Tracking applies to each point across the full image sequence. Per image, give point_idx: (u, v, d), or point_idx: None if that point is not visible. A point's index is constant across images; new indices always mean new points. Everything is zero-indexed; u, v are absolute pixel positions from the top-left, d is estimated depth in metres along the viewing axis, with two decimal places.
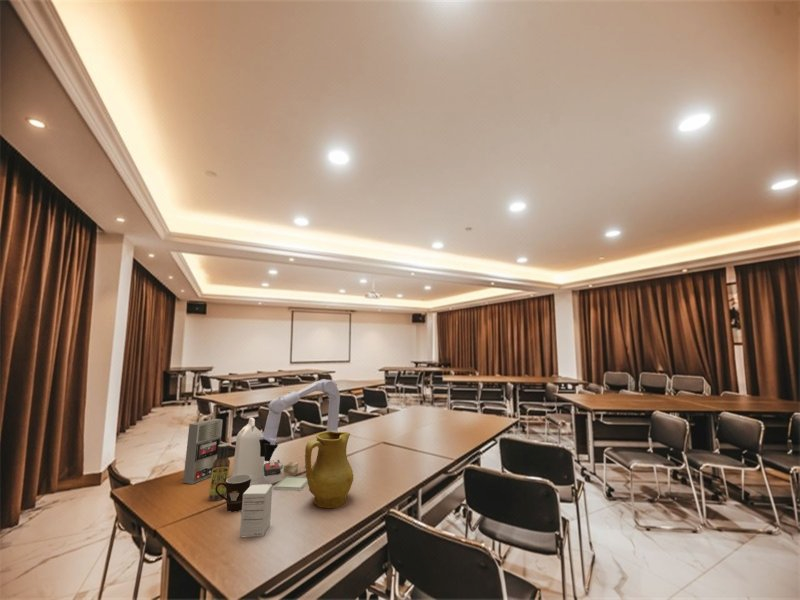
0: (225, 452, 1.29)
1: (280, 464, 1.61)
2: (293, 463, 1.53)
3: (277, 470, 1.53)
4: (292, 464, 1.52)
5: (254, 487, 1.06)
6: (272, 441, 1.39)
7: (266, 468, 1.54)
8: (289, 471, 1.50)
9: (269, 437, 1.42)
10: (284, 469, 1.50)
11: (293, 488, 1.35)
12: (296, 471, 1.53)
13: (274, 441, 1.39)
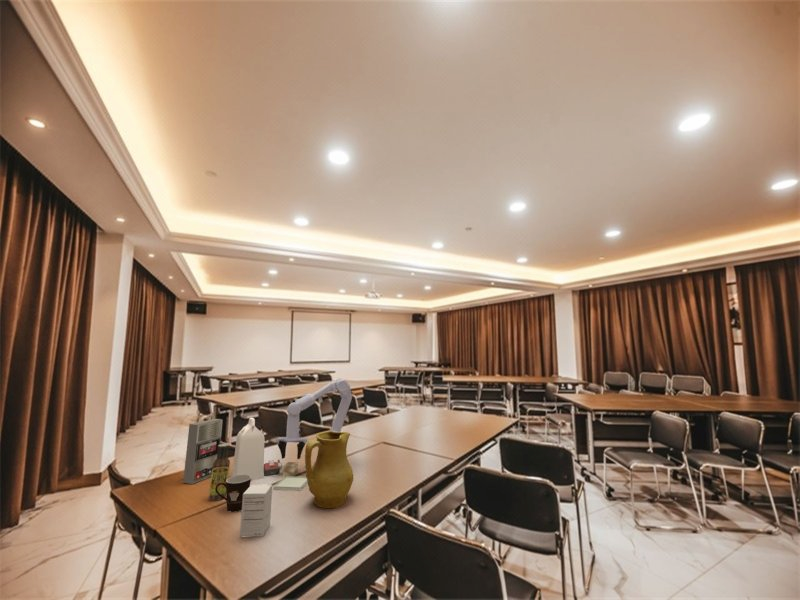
0: (225, 452, 1.29)
1: (280, 464, 1.61)
2: (293, 463, 1.53)
3: (276, 470, 1.53)
4: (292, 464, 1.52)
5: (254, 487, 1.06)
6: (306, 439, 1.54)
7: (265, 468, 1.53)
8: (289, 471, 1.50)
9: (297, 438, 1.54)
10: (284, 469, 1.50)
11: (293, 488, 1.35)
12: (296, 471, 1.53)
13: None
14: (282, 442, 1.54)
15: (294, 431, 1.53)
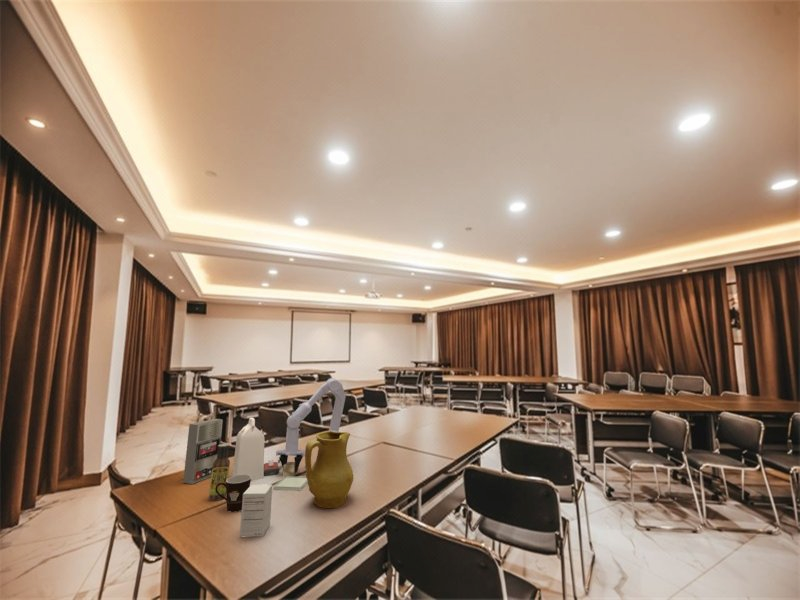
0: (225, 452, 1.29)
1: (279, 464, 1.60)
2: (293, 463, 1.53)
3: (275, 470, 1.52)
4: (292, 464, 1.52)
5: (254, 487, 1.06)
6: None
7: (265, 468, 1.53)
8: (289, 471, 1.50)
9: (296, 451, 1.53)
10: (284, 469, 1.50)
11: (293, 488, 1.35)
12: None
13: None
14: (281, 455, 1.53)
15: (293, 444, 1.52)
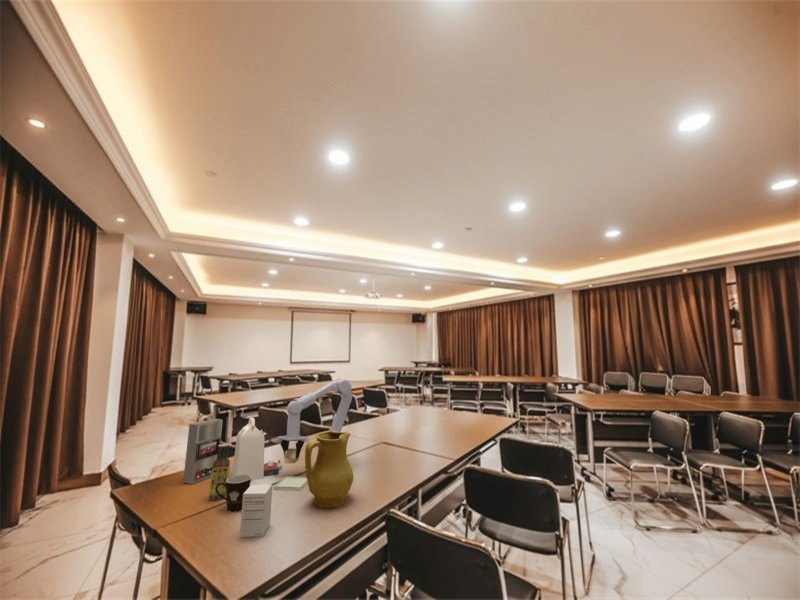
0: (225, 452, 1.29)
1: (279, 465, 1.60)
2: (294, 449, 1.52)
3: (274, 471, 1.52)
4: (293, 450, 1.51)
5: (254, 487, 1.06)
6: (307, 438, 1.52)
7: (264, 468, 1.53)
8: (290, 457, 1.49)
9: (297, 437, 1.52)
10: (285, 455, 1.49)
11: (293, 488, 1.35)
12: None
13: (307, 438, 1.52)
14: (283, 441, 1.52)
15: (295, 430, 1.51)
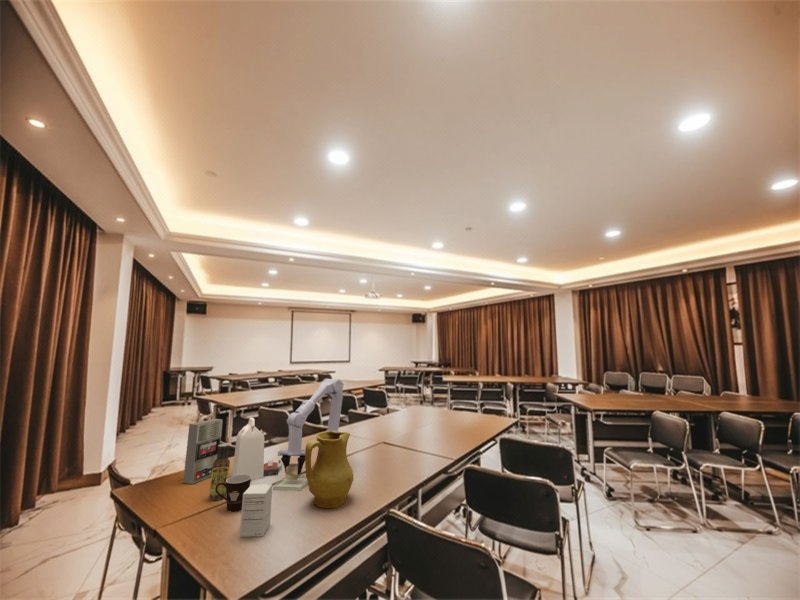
0: (225, 452, 1.29)
1: (279, 465, 1.60)
2: (296, 465, 1.43)
3: (274, 471, 1.52)
4: (295, 466, 1.41)
5: (254, 487, 1.06)
6: None
7: (264, 468, 1.53)
8: (292, 473, 1.39)
9: (299, 451, 1.42)
10: (287, 471, 1.40)
11: (293, 488, 1.35)
12: None
13: None
14: (283, 456, 1.42)
15: (296, 444, 1.41)
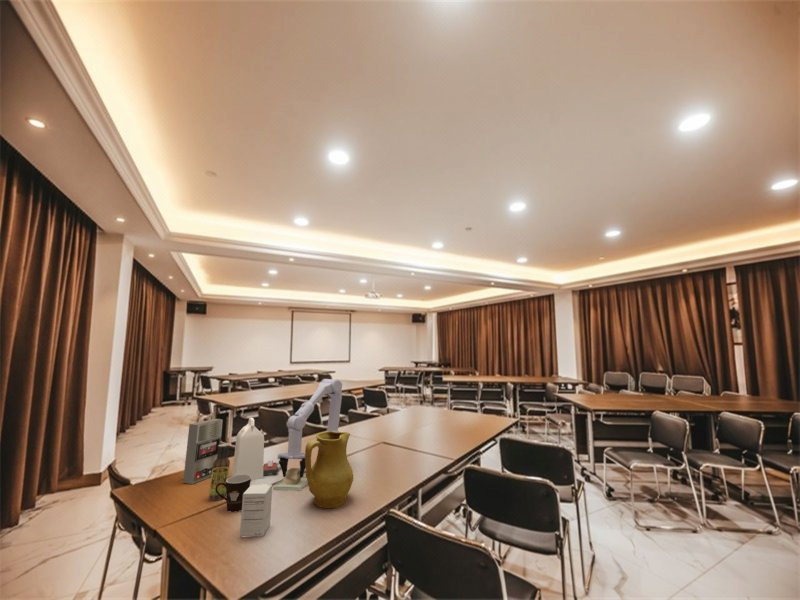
0: (225, 452, 1.29)
1: (279, 465, 1.60)
2: (296, 469, 1.42)
3: (274, 471, 1.52)
4: (295, 470, 1.41)
5: (254, 487, 1.06)
6: None
7: (263, 469, 1.53)
8: (292, 478, 1.39)
9: (299, 454, 1.42)
10: (286, 476, 1.39)
11: (293, 488, 1.35)
12: (299, 478, 1.42)
13: None
14: (283, 459, 1.42)
15: (296, 447, 1.41)
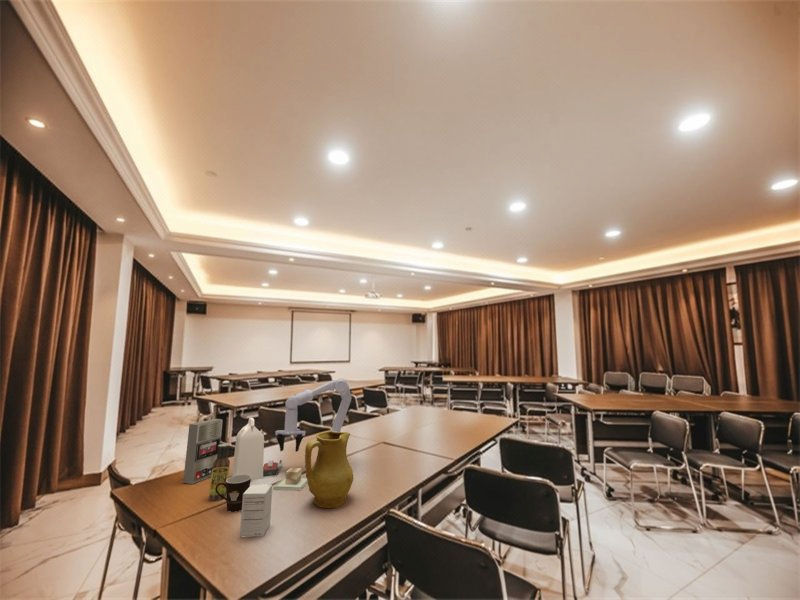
0: (225, 452, 1.29)
1: (279, 465, 1.60)
2: (296, 469, 1.42)
3: (274, 471, 1.52)
4: (295, 470, 1.41)
5: (254, 487, 1.06)
6: (304, 432, 1.57)
7: (263, 468, 1.53)
8: (292, 478, 1.39)
9: (295, 431, 1.57)
10: (286, 476, 1.39)
11: (293, 488, 1.35)
12: (299, 478, 1.42)
13: None
14: (280, 435, 1.57)
15: (292, 424, 1.57)
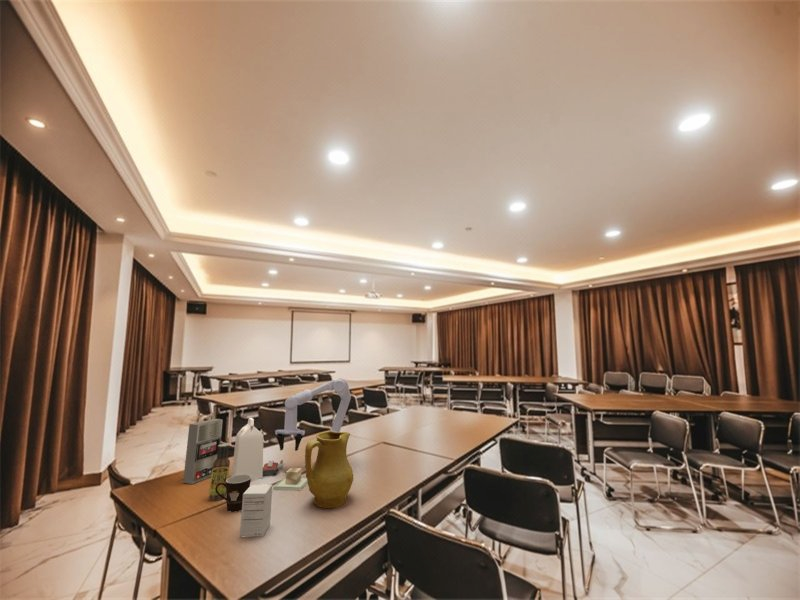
0: (225, 452, 1.29)
1: (279, 465, 1.60)
2: (296, 469, 1.42)
3: (273, 471, 1.51)
4: (295, 470, 1.41)
5: (254, 487, 1.06)
6: (303, 432, 1.58)
7: (263, 468, 1.53)
8: (292, 478, 1.39)
9: (294, 430, 1.59)
10: (286, 476, 1.39)
11: (293, 488, 1.35)
12: (299, 478, 1.42)
13: (304, 431, 1.59)
14: (280, 434, 1.59)
15: (292, 424, 1.58)
